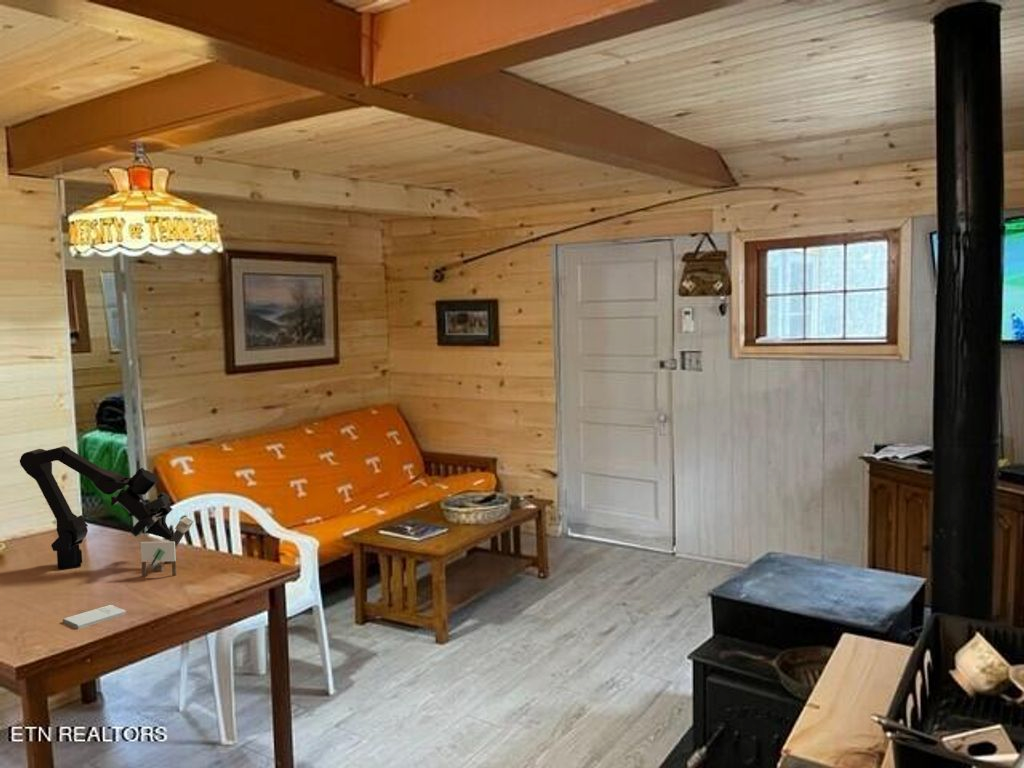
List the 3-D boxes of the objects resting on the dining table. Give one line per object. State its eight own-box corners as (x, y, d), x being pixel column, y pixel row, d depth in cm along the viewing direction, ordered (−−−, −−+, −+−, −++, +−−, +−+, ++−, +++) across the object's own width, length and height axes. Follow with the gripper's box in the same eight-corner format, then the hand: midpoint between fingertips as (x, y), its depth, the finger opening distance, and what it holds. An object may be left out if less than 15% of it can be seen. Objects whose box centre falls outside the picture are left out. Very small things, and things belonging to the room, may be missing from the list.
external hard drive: (62, 624, 206) (110, 609, 216) (78, 631, 201) (126, 615, 211) (62, 618, 206) (110, 603, 216) (78, 625, 201) (125, 609, 211)
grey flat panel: (141, 561, 241) (140, 542, 241) (142, 561, 242) (141, 542, 242) (174, 561, 242) (173, 542, 241) (175, 560, 242) (174, 541, 242)
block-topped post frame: (144, 567, 241) (166, 528, 240) (163, 553, 255) (185, 516, 254) (152, 572, 241) (175, 533, 240) (172, 557, 255) (193, 521, 255)
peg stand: (142, 576, 242) (141, 561, 242) (161, 562, 256) (160, 548, 256) (175, 575, 242) (175, 561, 242) (193, 561, 256) (192, 547, 256)
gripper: (139, 493, 242) (177, 528, 243) (164, 480, 260) (200, 513, 262) (114, 519, 242) (152, 553, 243) (141, 504, 261) (177, 537, 262)
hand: (171, 538), depth 253 cm, fingers closed, pressing on block-topped post frame
